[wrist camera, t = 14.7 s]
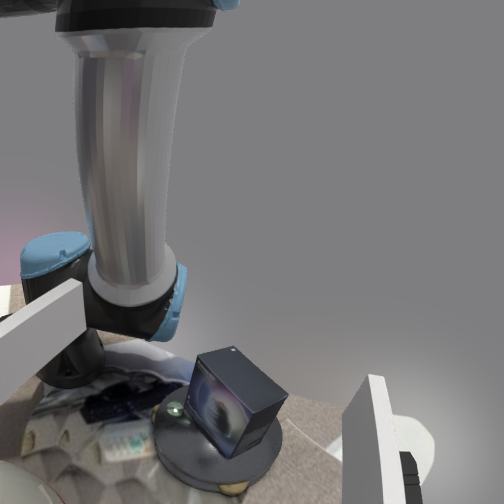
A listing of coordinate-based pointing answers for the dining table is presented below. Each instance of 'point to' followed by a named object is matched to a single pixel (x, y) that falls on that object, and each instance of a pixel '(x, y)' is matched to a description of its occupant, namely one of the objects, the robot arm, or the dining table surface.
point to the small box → (232, 400)
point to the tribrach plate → (207, 451)
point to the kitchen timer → (24, 487)
